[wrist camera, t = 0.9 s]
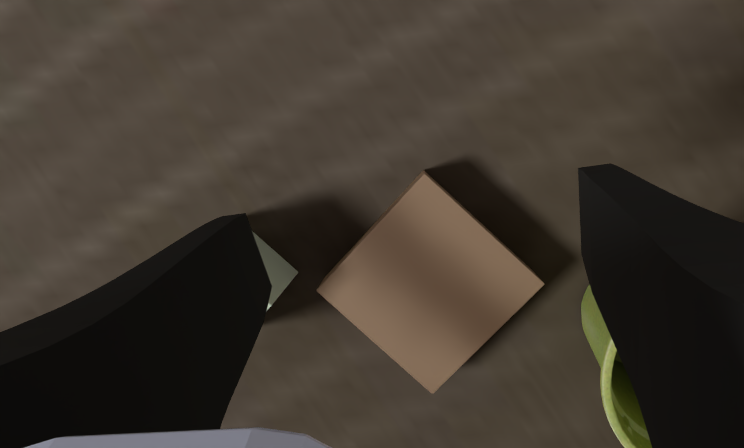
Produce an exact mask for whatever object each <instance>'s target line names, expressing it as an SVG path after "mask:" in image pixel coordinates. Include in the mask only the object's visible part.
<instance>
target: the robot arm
mask: <svg viewBox="0 0 744 448" xmlns="http://www.w3.org/2000/svg"><path fill="white" fill-rule="evenodd" d="M578 175H579V201H580V226H581V251H582V257H583V261H584V265H585V269H586V273H587V276H588V280H589V284H590V287H591V291H592V294H593V296H594V299H595V301H596V303H597V306H598V308H599V310H600V313H601V315H602V317H603V320H604V322H605V324H606V327H607V329H608V331H609V333H610V336H611V338H612V340H613V342H614V345H615V347H616V349H617V352H618V354H619V356H620V358H621V361H622V363H623V365H624V368H625V370H626V372H627V374H628V377H629V379H630V381H631V384H632V387H633V389H634V392H635V395H636V397H637V400H638V403H639V406H640V409H641V413H642V416H643V419H644V422H645V426H646V429H647V432H648V435H649V439H650V442H651V445H652V448H744V223H741V222H738V221H735V220H732V219H730V218H727V217H724V216H722V215H719V214H717V213H714V212H712V211H709V210H707V209H705V208H702V207H700V206H697V205H695V204H693V203H690V202H688V201H686V200H684V199H682V198H679V197H677V196H675V195H673V194H671V193H669V192H667V191H665V190H663V189H661V188H659V187H657V186H655V185H653V184H651V183H649V182H647V181H645V180H643V179H642V178H640V177H638V176H636V175H634V174H632V173H630V172H628V171H626V170H624V169H622V168H620V167H618V166H616V165H613V164H604V165H597V166H589V167H582V168H578ZM271 289H272V285H271V282H270V279H269V276H268V274H267V271H266V268H265V265H264V263H263V260H262V257H261V254H260V252H259V249H258V246H257V243H256V241H255V238H254V235H253V232H252V230H251V227H250V224H249V221H248V219H247V216H246V213H244V214H236V215H229V216H222V217H219V218H217V219H214V220H212V221H210V222H208V223H206V224H204V225H203V226H201V227H199V228H197V229H196V230H194V231H192V232H191V233H189V234H187V235H186V236H184V237H183V238H181V239H179V240H178V241H176V242H175V243H173V244H171V245H170V246H168V247H167V248H165V249H164V250H162V251H160V252H159V253H157V254H156V255H154V256H152V257H151V258H149V259H148V260H146V261H144V262H143V263H141V264H139V265H137V266H136V267H134V268H132V269H131V270H129V271H127V272H126V273H124V274H122V275H121V276H119V277H117V278H116V279H114V280H112V281H111V282H109V283H107V284H105V285H103V286H101V287H100V288H98V289H96V290H94V291H92V292H90V293H88V294H86V295H84V296H82V297H80V298H78V299H76V300H74V301H72V302H70V303H68V304H66V305H64V306H62V307H60V308H57V309H55V310H53V311H51V312H48V313H46V314H43V315H41V316H39V317H36V318H34V319H32V320H29V321H27V322H24V323H22V324H20V325H17V326H15V327H13V328H10V329H8V330H5V331H2V332H0V448H331V447H329V446H327V445H326V444H324V443H322V442H320V441H318V440H316V439H314V438H312V437H310V436H309V435H307V434H303V433H295V432H288V431H281V430H274V429H267V428H260V427H255V428H234V429H220V427H221V423H222V420H223V418H224V415H225V413H226V410H227V407H228V405H229V402H230V400H231V397H232V395H233V393H234V390H235V388H236V386H237V384H238V381H239V379H240V377H241V374H242V372H243V370H244V367H245V365H246V363H247V360H248V358H249V356H250V353H251V351H252V349H253V346H254V344H255V342H256V339H257V337H258V334H259V332H260V329H261V327H262V324H263V322H264V318H265V314H266V311H267V307H268V302H269V298H270V294H271Z"/></svg>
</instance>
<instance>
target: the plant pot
mask: <svg viewBox="0 0 744 448" xmlns="http://www.w3.org/2000/svg"><path fill="white" fill-rule="evenodd" d="M581 316H582V325H583V330H584V333H585V335H586V337H587V340H588V342H589V344H590V346H591V348H592V350H593V352H594V354H595V356H596V358H597V361H598V363H599V365H600V367H601V378H600V385H601V396H602V401H603V406H604V409H605V413H606V416H607V418H608V421H609V423H610V425H611V427H612V429H613V431H614V433H615V434H616V436H617V438H618V439H619V441H620V442H621V444H622V445H623V446H624V447H625V448H652V445H651V442H650V439H649V435H648V432H647V429H646V426H645V422H644V419H643V416H642V413H641V409H640V406H639V403H638V400H637V397H636V395H635V392H634V389H633V387H632V384H631V381H630V379H629V377H628V374H627V372H626V370H625V368H624V365H623V363H622V361H621V358H620V356H619V354H618V352H617V349H616V347H615V345H614V342H613V340H612V338H611V336H610V333H609V331H608V329H607V327H606V324H605V322H604V320H603V317H602V315H601V313H600V310H599V308H598V306H597V303H596V301H595V299H594V296H593V294H592V291H591V287H590V284H589V286H588V288H587V290H586V292H585V294H584V296H583V300H582V304H581Z"/></svg>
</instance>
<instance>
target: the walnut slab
mask: <svg viewBox="0 0 744 448" xmlns="http://www.w3.org/2000/svg"><path fill="white" fill-rule="evenodd" d="M543 285H544V283H543V282H542V280H541V279H540V278H539V277H538V276H537V275H536V273H535V272H534V271H533V270H532V269H531V268H530V267H529V266H527V265H526V264H525V263H524V262H523V261H522V260H521V259H520V258H519V257H518V256H517V255H515V254H514V253H513V252H512V251H511V250H510V249H509V248H508V247H507V246H506V245H505V244H504V243H502V242H501V241H500V240H499V239H498V238H497V237H496V236H495V235H494V234H493V233H492V232H490V231H489V230H488V229H487V228H486V227H485V226H484V225H483V224H482V223H481V222H480V221H478V220H477V219H476V218H475V217H474V216H473V215H472V214H471V213H470V212H469V211H468V210H466V209H465V208H464V207H463V206H462V205H461V204H460V203H459V202H458V201H457V200H456V199H455V198H453V197H452V196H451V195H450V194H449V193H448V192H447V191H446V190H445V189H444V188H443V187H441V186H440V185H439V184H438V183H437V182H436V181H435V180H434V179H433V178H432V177H431V176H429V175H428V174H427V173H426V172H425V171H424V170H423V171H422V172H421V173H420V174H419V175H418V177H417V178H416V179H415V180H414V181H413V182H412V183H411V184H410V185H409V186H408V187H407V188H406V190H405V191H404V192H403V193H402V194H401V195H400V196H399V197H398V198H397V199H396V200H395V201H394V203H393V204H392V205H391V206H390V207H389V208H388V209H387V210H386V211H385V212H384V213H383V214H382V216H381V217H380V218H379V219H378V220H377V221H376V222H375V223H374V224H373V225H372V226H371V227H370V229H369V230H368V231H367V232H366V233H365V234H364V235H363V236H362V237H361V238H360V239H359V240H358V242H357V243H356V244H355V245H354V246H353V247H352V248H351V249H350V250H349V251H348V252H347V253H346V255H345V256H344V257H343V258H342V259H341V260H340V261H339V262H338V263H337V264H336V265H335V266H334V268H333V269H332V270H331V271H330V272H329V273H328V274H327V275H326V276H325V277H324V279H323V280H322V282H321V284H320V285H319V287H318V288H317V290H316V291H317V292H318V293H319V294H320V295H322V296H323V297H324V298H325V299H326V300H327V301H328V302H329V303H331V304H332V305H333V306H334V307H335V308H336V309H337V310H338V311H339V312H341V313H342V314H343V315H344V316H345V317H346V318H347V319H348V320H350V321H351V322H352V323H353V324H354V325H355V326H356V327H357V328H359V329H360V330H361V331H362V332H363V333H364V334H365V335H366V336H368V337H369V338H370V339H371V340H372V341H373V342H374V343H375V344H377V345H378V346H379V347H380V348H381V349H382V350H383V351H384V352H386V353H387V354H388V355H389V356H390V357H391V358H392V359H393V360H395V361H396V362H397V363H398V364H399V365H400V366H401V367H402V368H403V369H405V370H406V371H407V372H408V373H409V374H410V375H411V376H412V377H414V378H415V379H416V380H417V381H418V382H419V383H420V384H421V385H423V386H424V387H425V388H426V389H427V390H428V391H429V392H430V393H432V394H433V393H434V392H435V391H436V390H437V389H438V388H439V387H440V386H441V385H442V384H443V383H444V382H445V381H446V380H447V379H448V378H449V377H450V376H451V375H452V374H453V373H454V372H455V371H457V370H458V369H459V368H460V367H461V366H462V365H463V364H464V363H465V362H466V361H467V360H468V359H469V358H470V357H471V356H472V355H473V354H474V353H475V352H476V351H477V350H478V349H479V348H480V347H481V346H482V345H483V344H484V343H485V342H486V341H487V340H488V339H489V338H490V337H491V336H492V335H493V334H494V333H495V332H496V331H497V330H498V329H499V328H500V327H501V326H502V325H503V324H505V323H506V322H507V321H508V320H509V319H510V318H511V317H512V316H513V315H514V314H515V313H516V312H517V311H518V310H519V309H520V308H521V307H522V306H523V305H524V304H525V303H526V302H527V301H528V300H529V299H530V298H531V297H532V296H533V295H534V294H535V293H536V292H537V291H538V290H539V289H540V288H541V287H542V286H543Z"/></svg>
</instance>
